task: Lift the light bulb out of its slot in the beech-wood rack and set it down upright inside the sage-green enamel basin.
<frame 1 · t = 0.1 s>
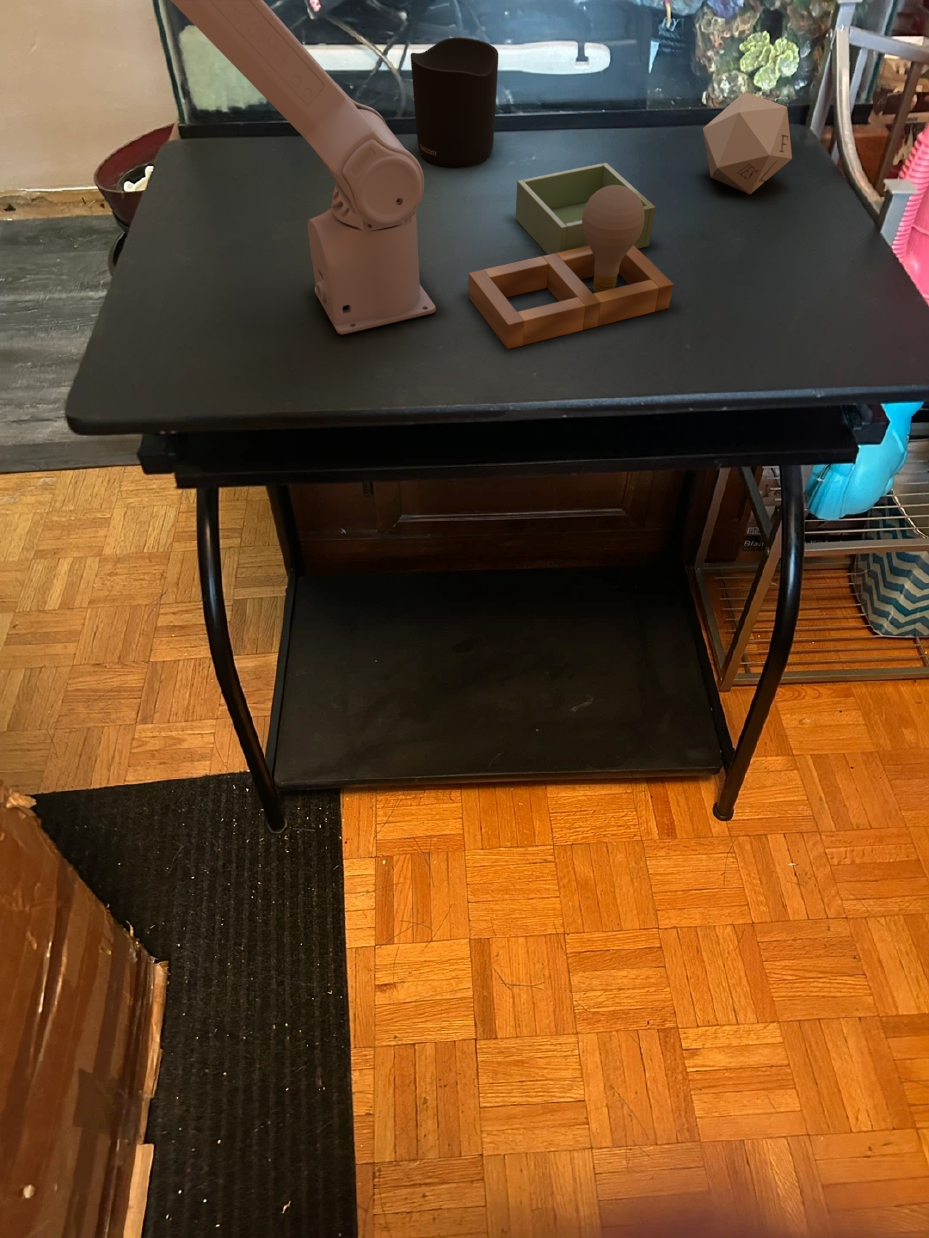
light bulb: (603, 296, 84), resting in rack
rack: (567, 302, 83), on the table
pen holder: (455, 152, 102), on the table
die: (738, 183, 97), on the table
basin: (580, 232, 90), on the table
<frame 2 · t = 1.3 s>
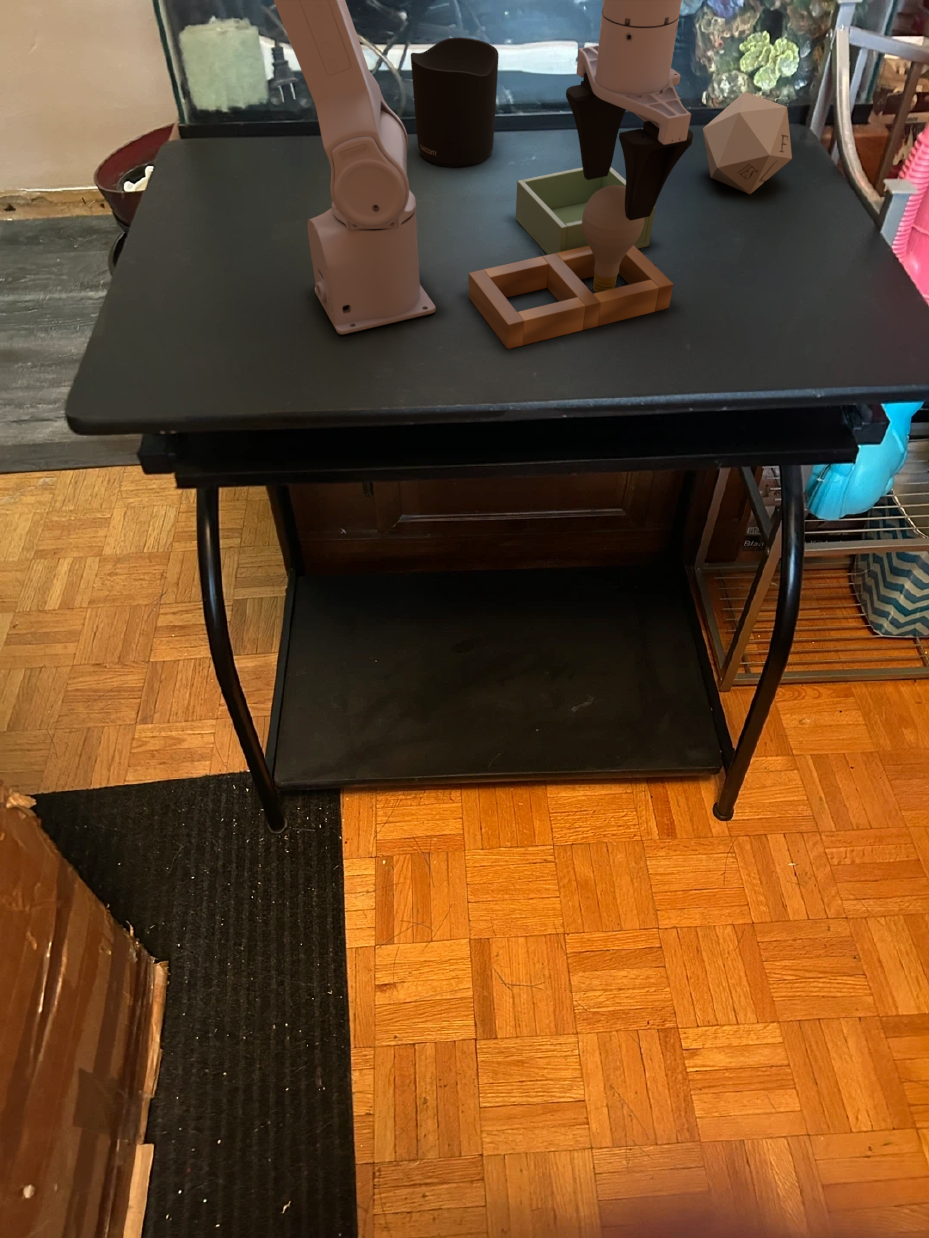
hand: (616, 196, 76), 9 cm above the table, tool pointing down, fingers open, 7 cm apart
nothing on the table moved.
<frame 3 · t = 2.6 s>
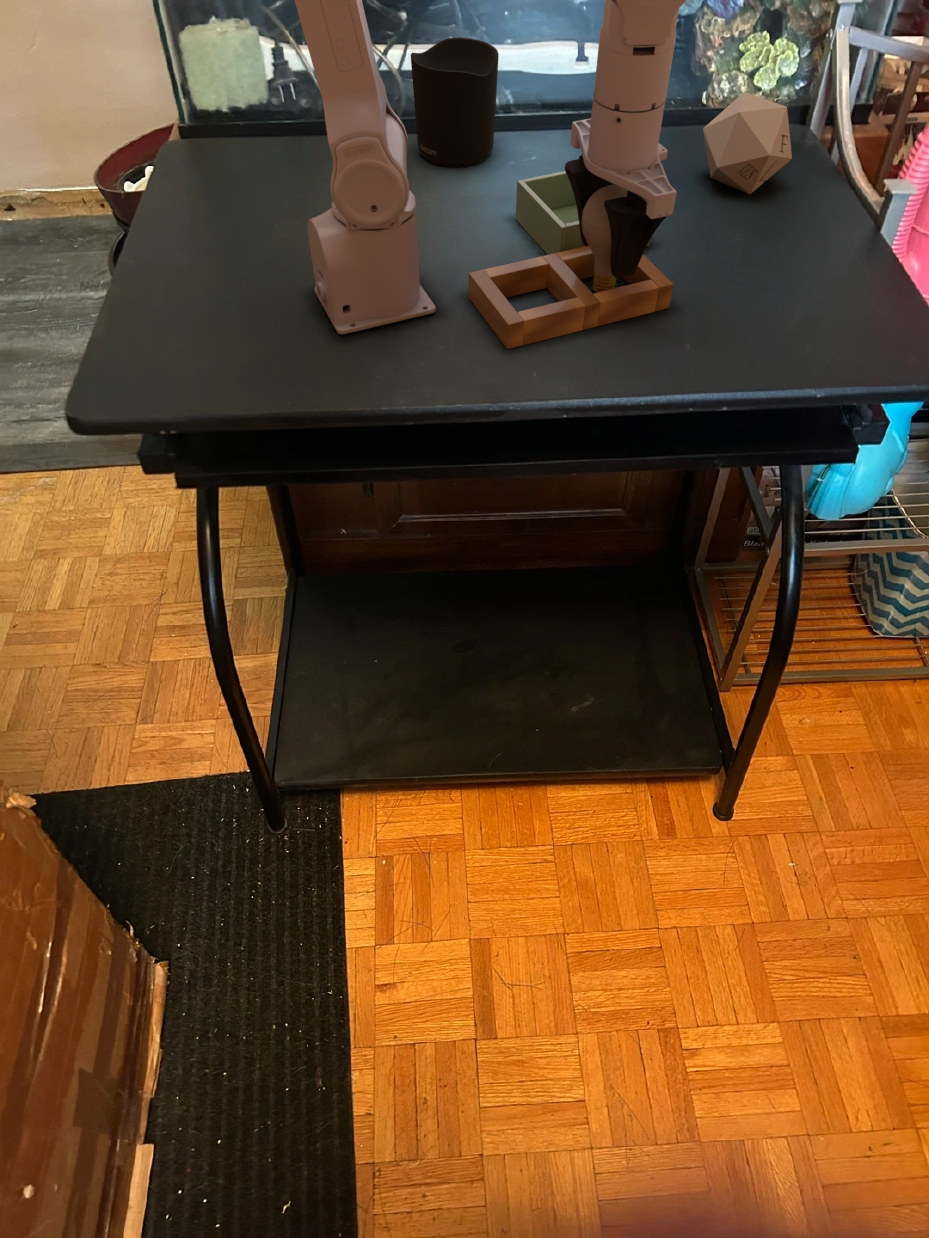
hand: (608, 258, 81), 4 cm above the table, tool pointing down, fingers closed on light bulb, 5 cm apart
light bulb: (602, 295, 84), resting in rack, touching gripper
everything else where it was.
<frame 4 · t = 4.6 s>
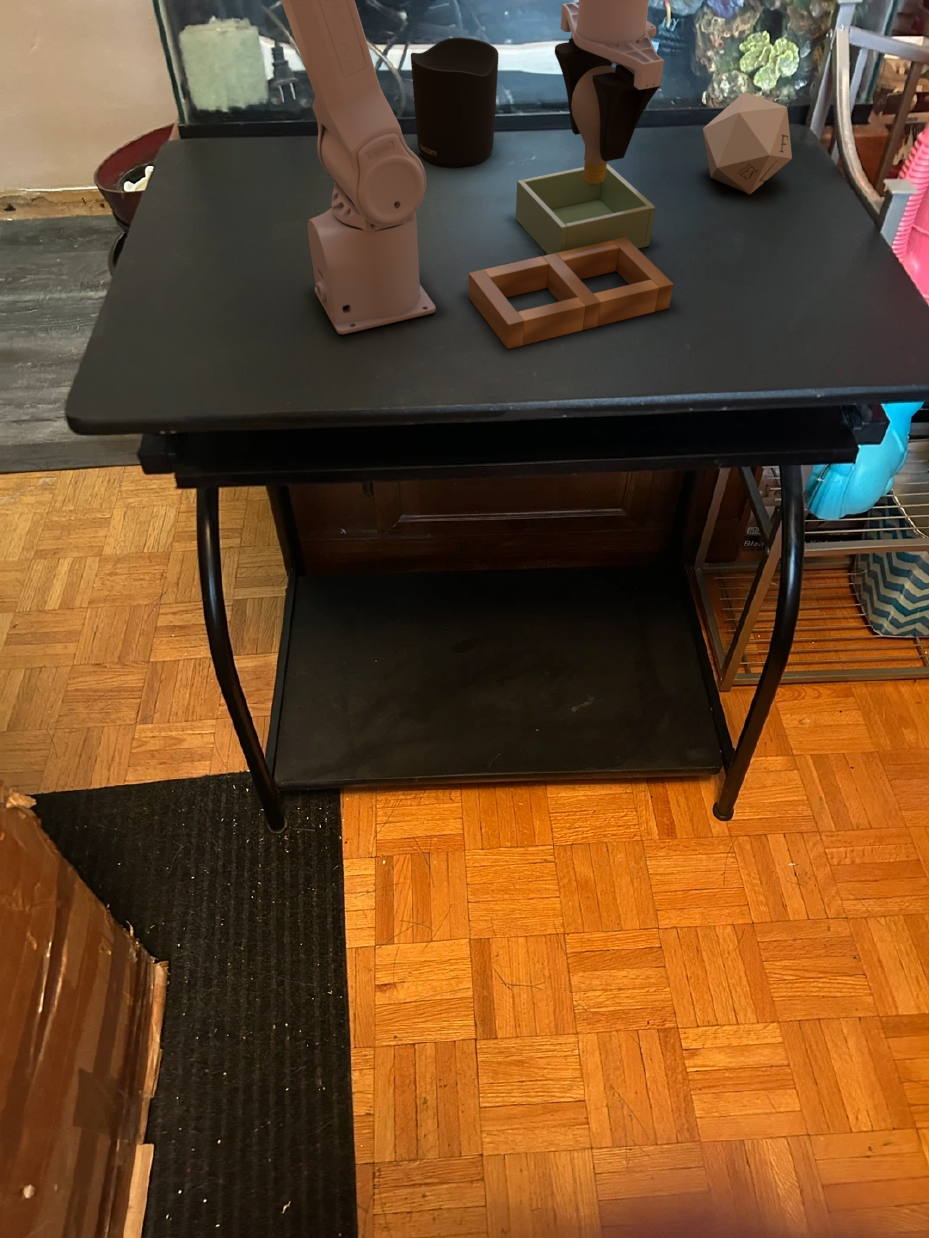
hand: (597, 145, 81), 10 cm above the table, tool pointing down, fingers closed on light bulb, 5 cm apart
light bulb: (593, 186, 84), point 6 cm above the table, touching gripper
everything else where it was.
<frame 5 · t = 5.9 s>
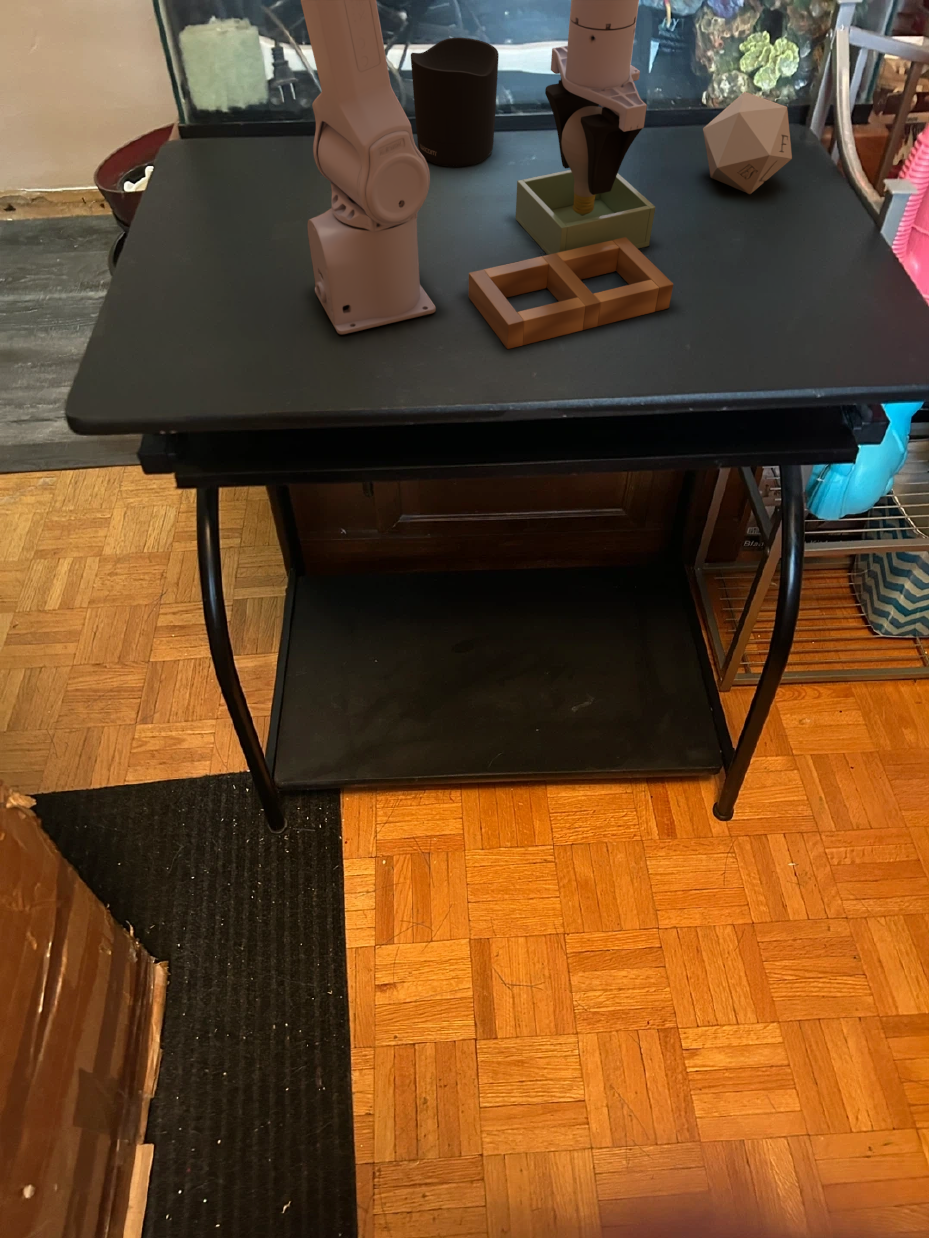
hand: (586, 178, 86), 5 cm above the table, tool pointing down, fingers closed on light bulb, 5 cm apart
light bulb: (582, 216, 89), point 2 cm above the table, touching gripper
everything else where it was.
when the fingers open (4 cm above the table, at t = 6.9 s): light bulb stays where it is, resting on basin.
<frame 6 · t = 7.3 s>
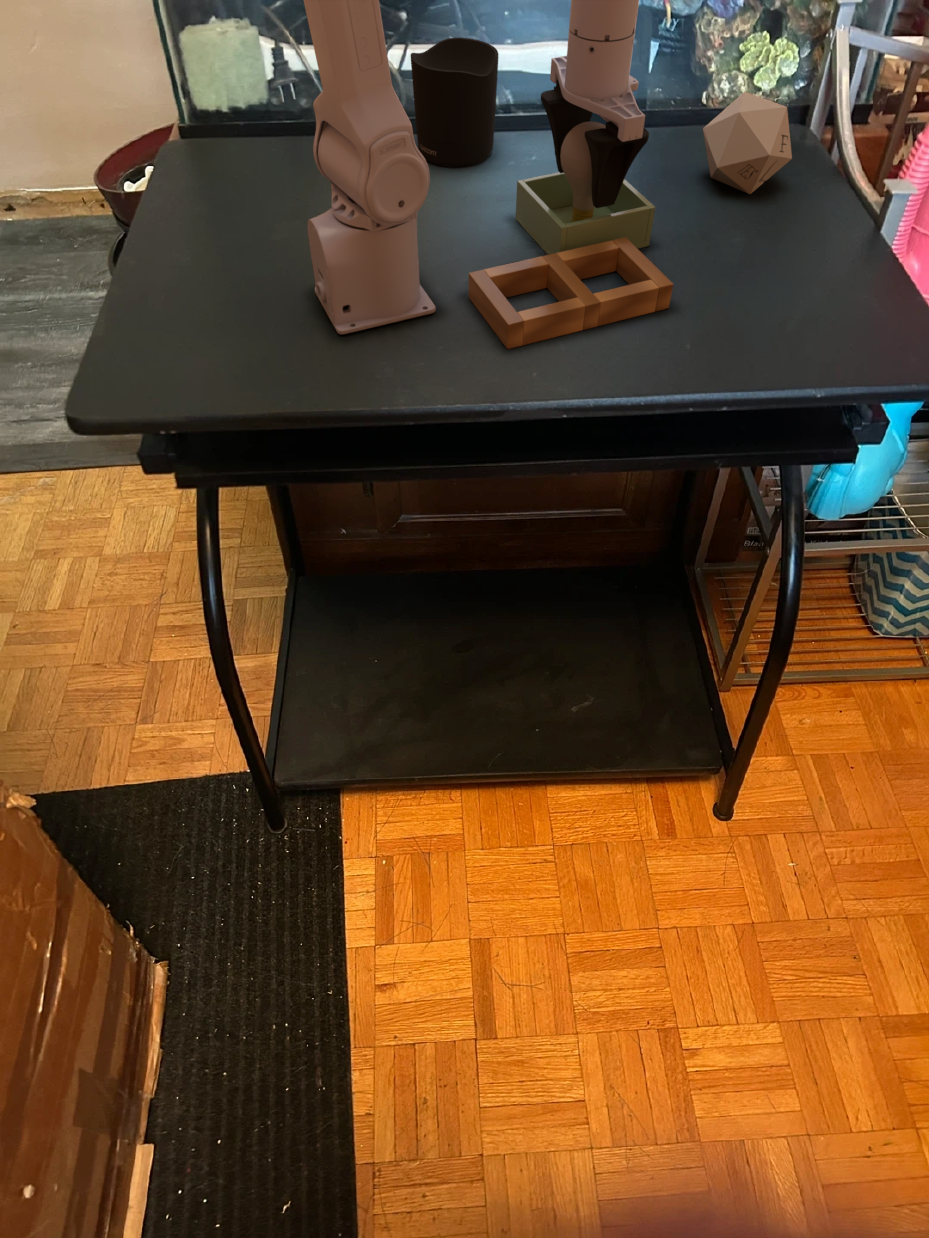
hand: (585, 187, 87), 5 cm above the table, tool pointing down, fingers open, 7 cm apart
light bulb: (581, 229, 90), resting on basin
everything else where it was.
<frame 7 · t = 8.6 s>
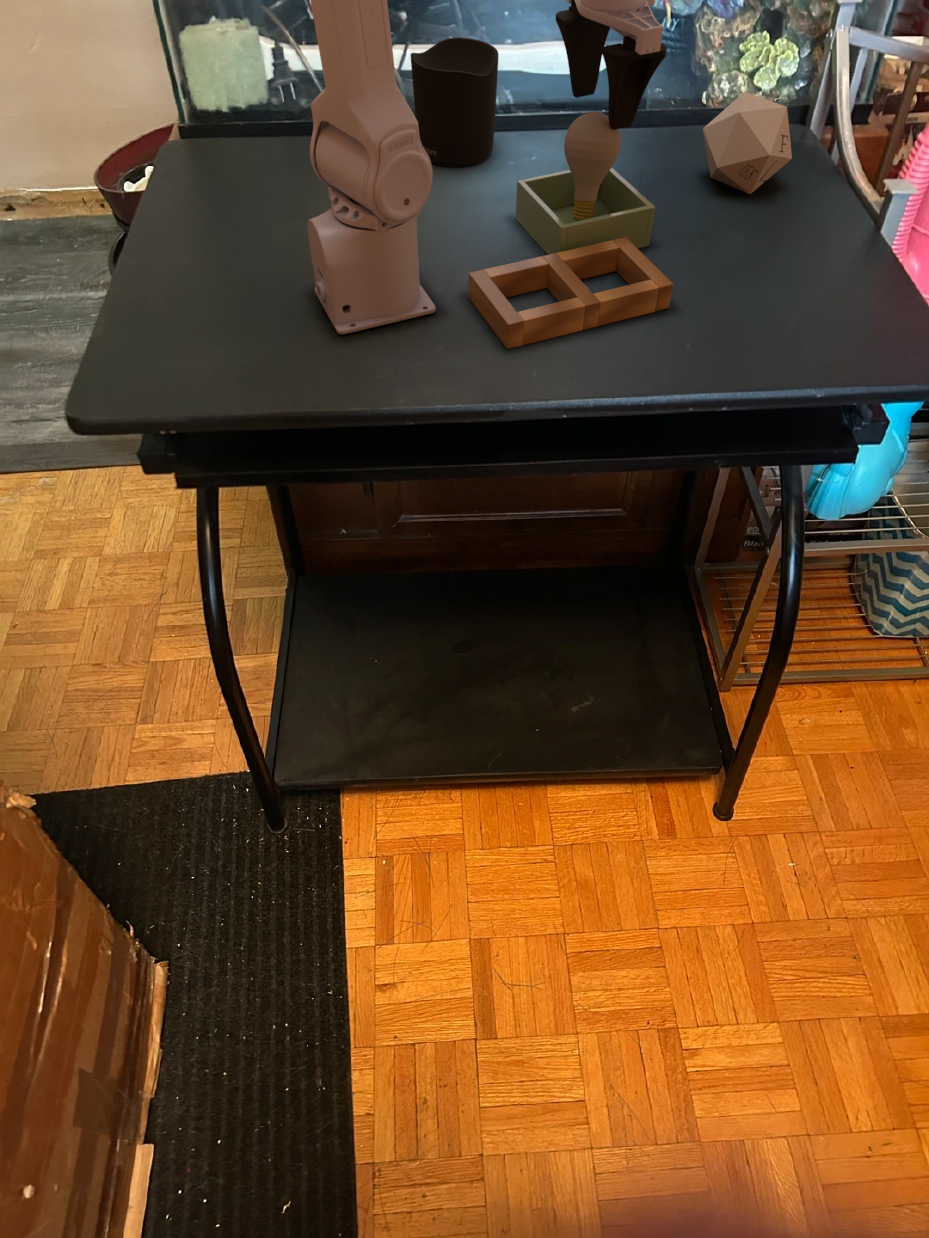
hand: (601, 110, 86), 10 cm above the table, tool pointing down, fingers open, 7 cm apart
light bulb: (581, 226, 90), point 1 cm above the table, touching basin, gripper
everything else where it was.
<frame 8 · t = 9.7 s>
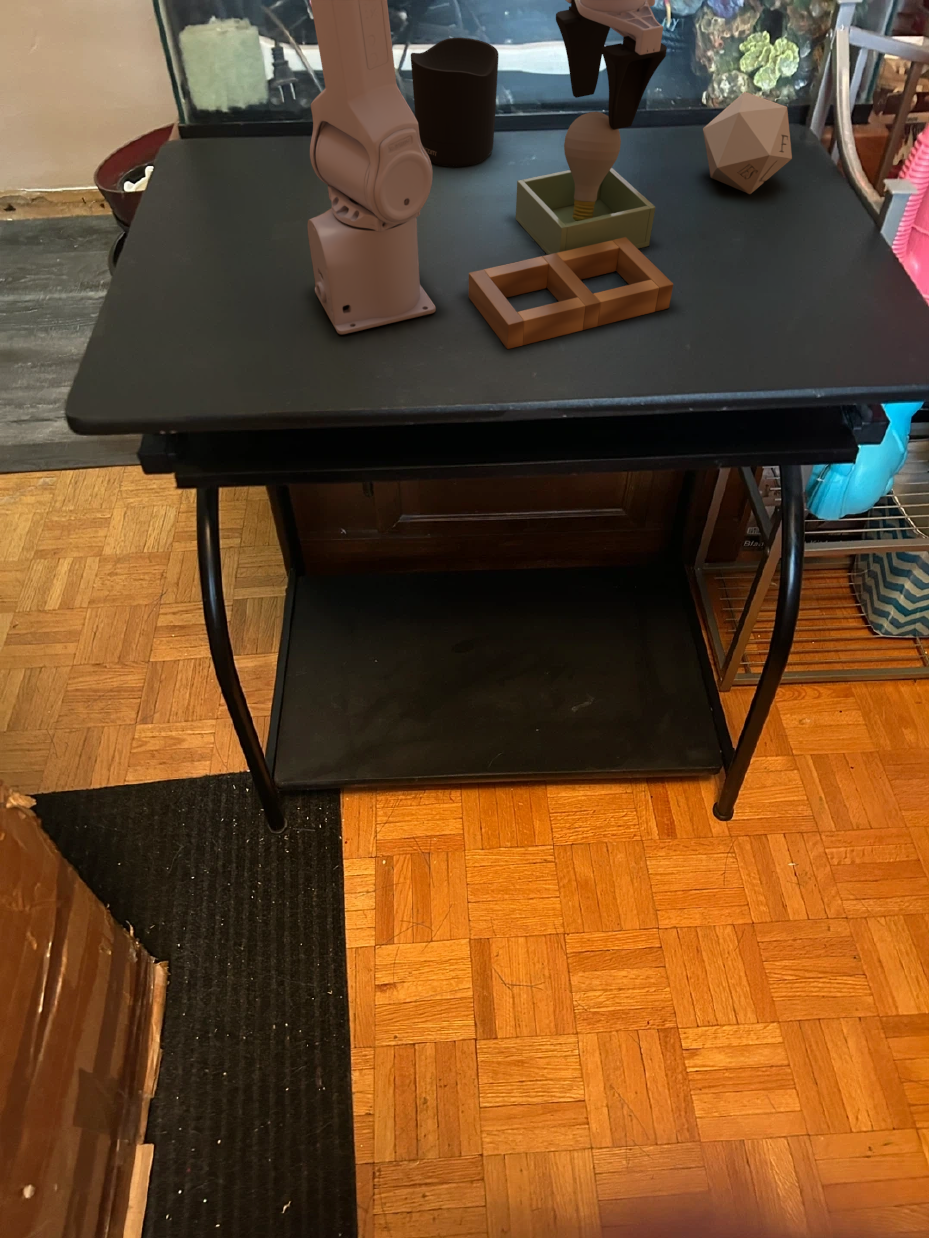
hand: (601, 110, 86), 10 cm above the table, tool pointing down, fingers open, 7 cm apart
nothing on the table moved.
at the end: light bulb inside the target area in the basin (0.0 cm from its centre), point 0.6 cm above the basin's base; the gripper is holding nothing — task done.
